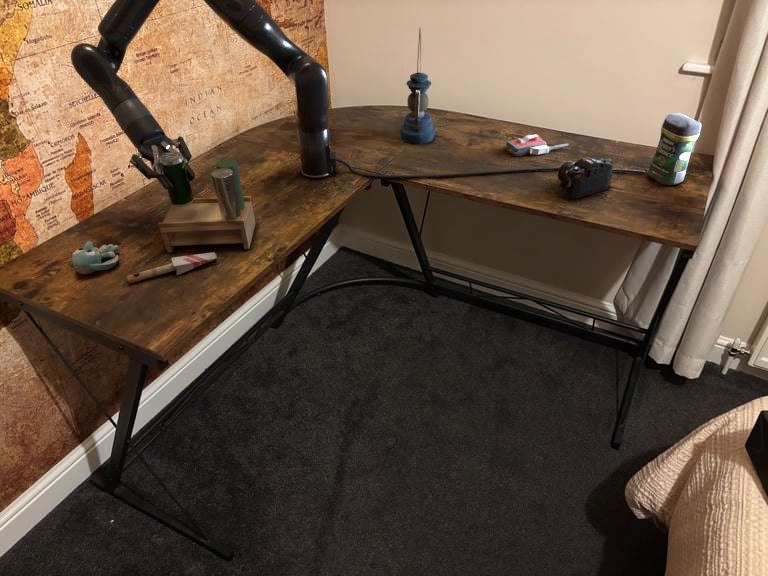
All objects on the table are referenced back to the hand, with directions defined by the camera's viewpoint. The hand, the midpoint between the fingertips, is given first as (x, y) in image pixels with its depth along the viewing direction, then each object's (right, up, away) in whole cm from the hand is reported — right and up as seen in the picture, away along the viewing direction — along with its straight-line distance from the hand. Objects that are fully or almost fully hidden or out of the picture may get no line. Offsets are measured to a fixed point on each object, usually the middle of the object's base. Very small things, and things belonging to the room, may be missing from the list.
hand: (182, 184), depth 130 cm
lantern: (+59, +26, +58) cm, 87 cm away
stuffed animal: (-21, -19, +2) cm, 28 cm away
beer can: (-1, -4, +4) cm, 6 cm away
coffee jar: (+130, +7, +32) cm, 134 cm away
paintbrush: (-2, -21, -1) cm, 21 cm away
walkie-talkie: (+97, +20, +49) cm, 110 cm away
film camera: (+103, +4, +28) cm, 107 cm away
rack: (+4, -12, +11) cm, 16 cm away
